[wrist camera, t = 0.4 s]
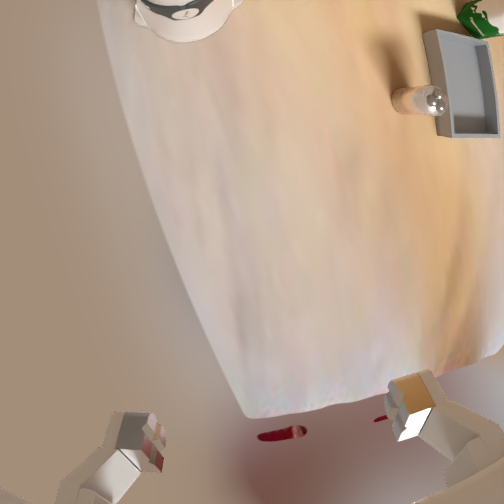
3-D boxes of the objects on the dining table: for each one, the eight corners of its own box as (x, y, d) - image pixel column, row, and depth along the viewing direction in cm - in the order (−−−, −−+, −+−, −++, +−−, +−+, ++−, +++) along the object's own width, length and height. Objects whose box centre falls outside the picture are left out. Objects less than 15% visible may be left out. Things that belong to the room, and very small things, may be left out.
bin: (421, 33, 42) (435, 28, 38) (473, 43, 42) (487, 41, 38) (437, 135, 51) (451, 137, 47) (485, 135, 51) (500, 137, 47)
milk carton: (487, 26, 40) (545, 18, 22) (476, 45, 42) (539, 39, 24) (464, -1, 37) (522, -17, 19) (452, 16, 40) (514, 1, 22)
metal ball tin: (389, 88, 47) (426, 83, 36) (411, 88, 47) (450, 85, 36) (393, 114, 49) (430, 116, 38) (414, 114, 49) (453, 116, 38)
